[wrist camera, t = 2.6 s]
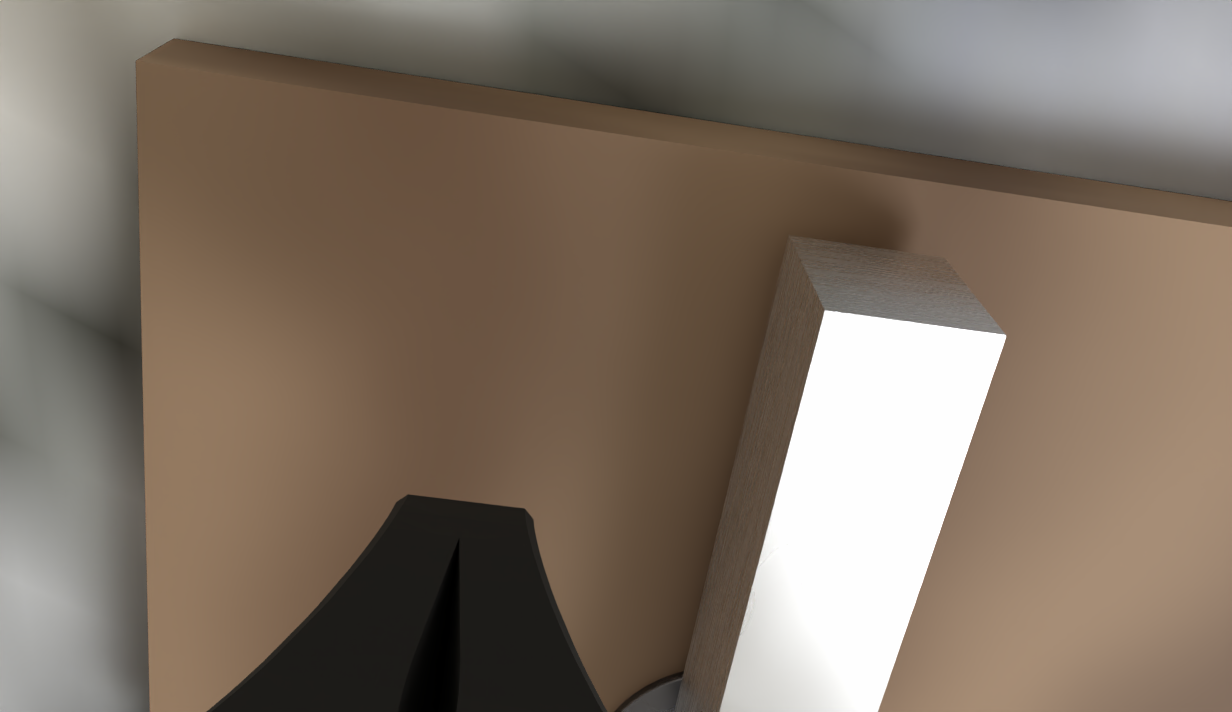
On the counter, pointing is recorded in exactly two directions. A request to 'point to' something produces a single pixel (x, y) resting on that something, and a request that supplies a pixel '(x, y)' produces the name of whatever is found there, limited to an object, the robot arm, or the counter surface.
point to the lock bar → (839, 479)
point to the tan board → (650, 374)
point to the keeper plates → (655, 696)
